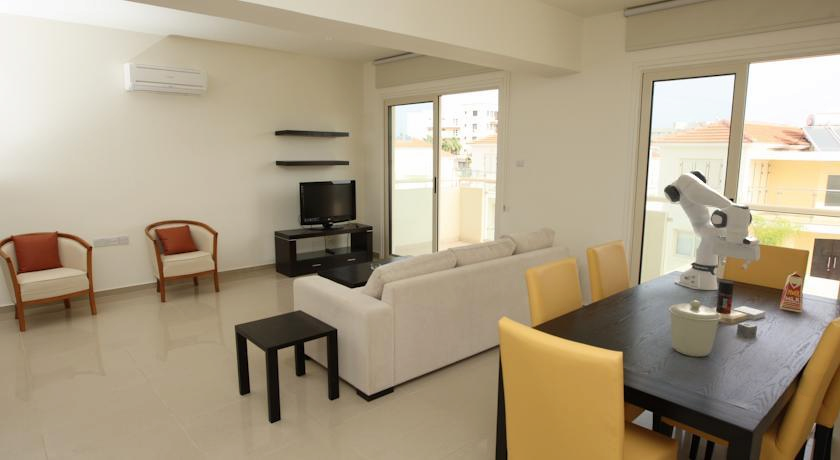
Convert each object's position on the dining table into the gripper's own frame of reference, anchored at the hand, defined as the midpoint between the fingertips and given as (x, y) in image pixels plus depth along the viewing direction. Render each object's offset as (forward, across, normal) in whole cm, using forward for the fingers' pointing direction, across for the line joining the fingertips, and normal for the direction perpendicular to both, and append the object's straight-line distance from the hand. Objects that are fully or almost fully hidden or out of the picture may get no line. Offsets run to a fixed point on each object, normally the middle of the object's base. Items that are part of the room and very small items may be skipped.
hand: (733, 266), depth 238 cm
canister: (+24, +15, -59) cm, 66 cm away
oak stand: (+24, 0, -5) cm, 25 cm away
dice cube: (+24, +18, -21) cm, 37 cm away
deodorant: (+22, 0, -5) cm, 22 cm away
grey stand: (+24, +5, +9) cm, 27 cm away
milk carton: (+25, +10, +40) cm, 48 cm away
